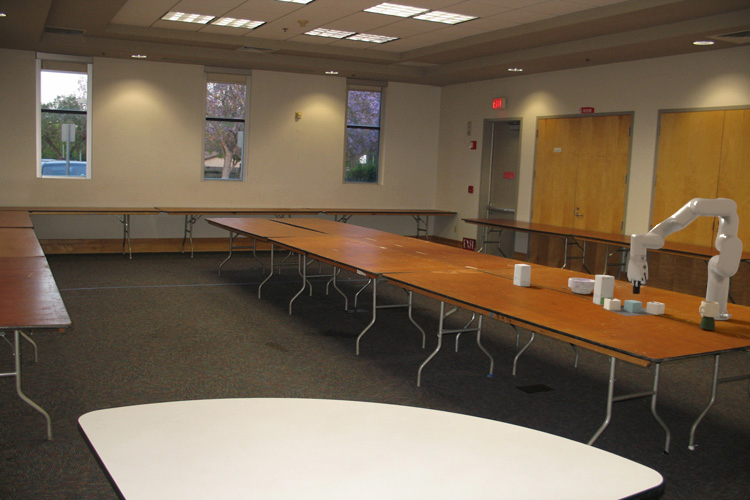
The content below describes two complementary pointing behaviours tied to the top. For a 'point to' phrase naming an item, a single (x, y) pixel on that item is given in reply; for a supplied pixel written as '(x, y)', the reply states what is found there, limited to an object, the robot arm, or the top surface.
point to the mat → (627, 313)
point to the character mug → (708, 314)
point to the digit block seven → (612, 304)
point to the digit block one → (655, 308)
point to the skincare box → (603, 288)
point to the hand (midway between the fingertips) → (636, 293)
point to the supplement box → (522, 275)
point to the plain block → (632, 306)
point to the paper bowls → (581, 285)
